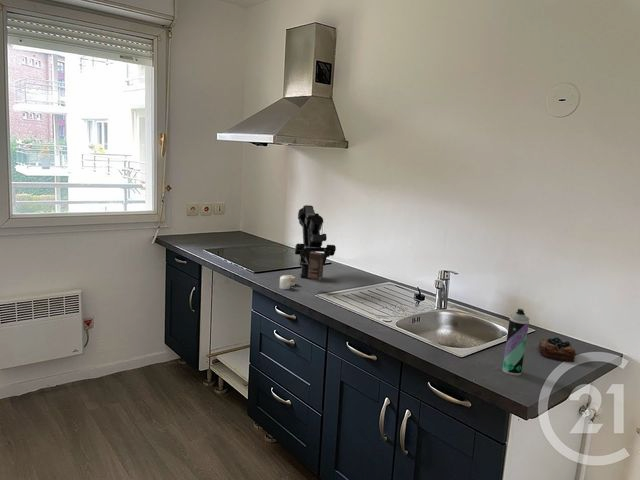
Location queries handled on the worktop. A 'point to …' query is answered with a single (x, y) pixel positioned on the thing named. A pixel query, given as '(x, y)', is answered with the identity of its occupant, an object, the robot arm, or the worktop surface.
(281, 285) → the plastic cylinder
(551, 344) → the pastry
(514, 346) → the spray can
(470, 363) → the worktop surface
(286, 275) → the birch block
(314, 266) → the box
